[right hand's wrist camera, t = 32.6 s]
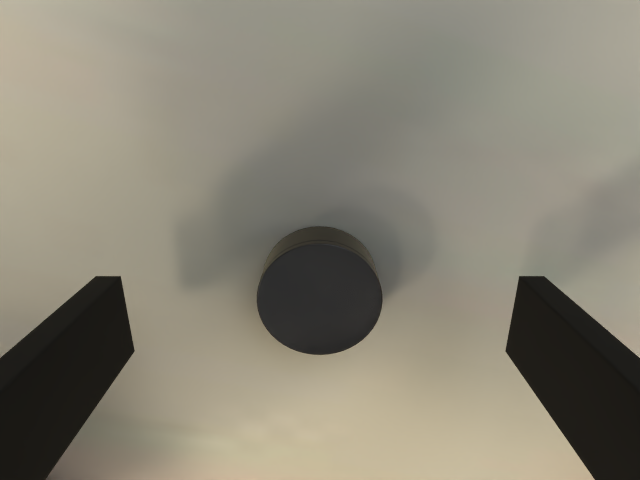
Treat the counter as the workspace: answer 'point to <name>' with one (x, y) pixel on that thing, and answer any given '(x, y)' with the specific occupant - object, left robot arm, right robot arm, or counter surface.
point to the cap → (319, 291)
